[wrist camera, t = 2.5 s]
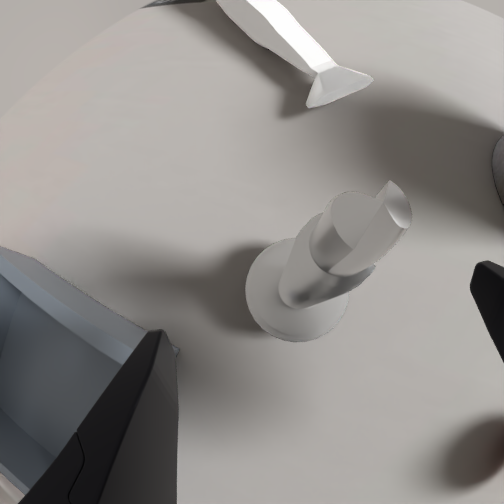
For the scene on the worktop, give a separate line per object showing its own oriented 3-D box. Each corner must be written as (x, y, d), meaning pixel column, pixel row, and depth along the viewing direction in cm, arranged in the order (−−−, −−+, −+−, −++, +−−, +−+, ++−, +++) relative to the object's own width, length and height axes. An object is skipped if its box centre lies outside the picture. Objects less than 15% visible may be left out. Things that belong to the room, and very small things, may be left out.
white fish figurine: (238, -15, 23) (236, -46, 19) (369, 100, 20) (386, 64, 16) (186, 3, 22) (179, -29, 18) (307, 129, 19) (317, 91, 15)
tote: (113, 498, 14) (77, 534, 9) (-10, 398, 16) (-57, 405, 11) (179, 348, 16) (147, 357, 11) (33, 258, 18) (-17, 239, 13)
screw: (229, 308, 17) (278, 231, 17) (308, 356, 16) (355, 278, 17) (128, 258, 4) (308, 35, 5) (434, 442, 3) (529, 175, 4)
